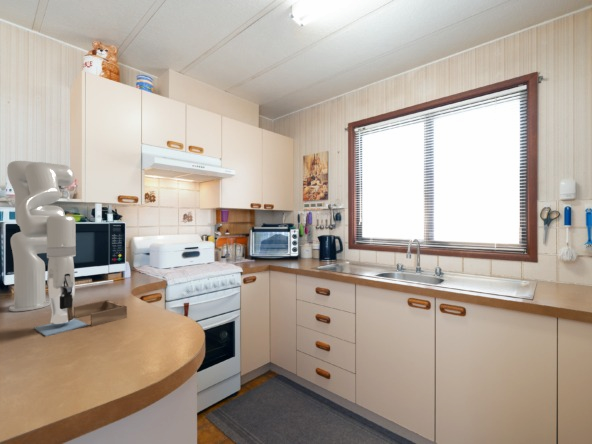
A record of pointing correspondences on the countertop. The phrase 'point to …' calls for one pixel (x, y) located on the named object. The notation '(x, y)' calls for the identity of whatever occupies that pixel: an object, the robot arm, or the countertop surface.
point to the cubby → (101, 311)
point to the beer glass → (54, 296)
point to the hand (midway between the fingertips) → (62, 305)
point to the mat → (60, 327)
